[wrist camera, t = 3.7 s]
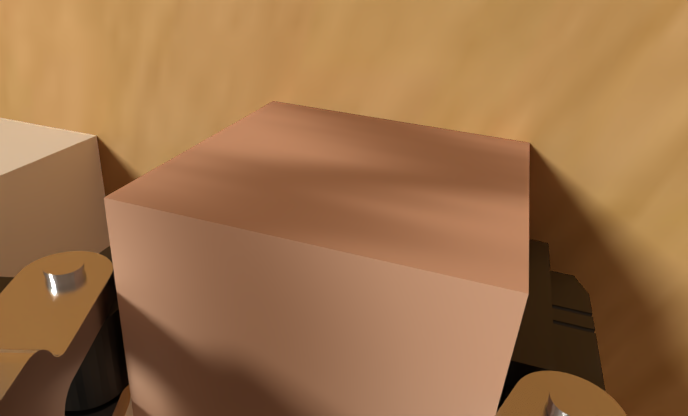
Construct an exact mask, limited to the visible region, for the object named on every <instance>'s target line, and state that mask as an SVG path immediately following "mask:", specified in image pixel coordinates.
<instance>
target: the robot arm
mask: <svg viewBox="0 0 688 416" xmlns="http://www.w3.org/2000/svg"><path fill="white" fill-rule="evenodd" d="M594 331H595V327H594V321H593V317H592V310H591V304H590V298H589V294H588V293H587V292H586V290H585V289H584V288H583V287H582V285H581V284H580V283H579V282H578V280H577V279H576V278H575V277H574V276H572V275H568V274H563V273H558V272H554V271H550V262H549V246H548V243H544V242H540V241H535V240H530V239H529V294H528V298H527V302H526V305H525V309H524V313H523V316H522V320H521V324H520V327H519V331H518V335H517V338H516V342H515V346H514V349H513V353H512V357H511V360H510V364H509V368H508V371H507V375H506V378H505V382H504V386H503V389H502V393H501V397H500V400H499V404H498V408H497V411H496V414H495V416H627V415H626V413H625V412H624V410H623V409H622V408H621V406H620V405H619V404H618V403H617V402H616V401H615V400H614V399H613V398H612V397H611V396H610V395H609V394H608V393H606V392H605V386H604V380H603V374H602V368H601V363H600V357H599V351H598V345H597V339H596V334H595V333H594ZM130 396H131V394H130V387H129V380H128V372H127V365H126V358H125V350H124V343H123V336H122V328H121V321H120V314H119V306H118V299H117V292H116V284H115V277H114V270H113V262H112V255H111V248H110V246H109V247H107V248H106V249H104V250H103V251H101V252H100V253H95V252H89V251H68V252H61V253H56V254H52V255H49V256H46V257H43V258H40V259H38V260H36V261H34V262H32V263H30V264H28V265H27V266H26V267H24V268H23V269H22V270H21V271H20V272H19V273H18V274H17V275H16V276H15V277H0V416H125V413H126V411H127V408H128V406H129V403H130Z"/></svg>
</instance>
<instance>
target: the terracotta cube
mask: <svg viewBox="0 0 688 416" xmlns="http://www.w3.org/2000/svg"><path fill="white" fill-rule="evenodd" d="M529 162H530V143H527V142H521V141H515V140H509V139H503V138H497V137H491V136H484V135H478V134H472V133H466V132H460V131H454V130H447V129H441V128H435V127H429V126H423V125H417V124H411V123H404V122H398V121H392V120H386V119H380V118H374V117H367V116H361V115H355V114H349V113H343V112H337V111H331V110H324V109H318V108H312V107H306V106H300V105H294V104H287V103H281V102H275V101H272V102H271V103H269V104H267V105H265V106H264V107H262V108H260V109H258V110H257V111H255V112H253V113H251V114H250V115H248V116H246V117H244V118H243V119H241V120H239V121H237V122H236V123H234V124H232V125H230V126H229V127H227V128H225V129H223V130H222V131H220V132H218V133H216V134H214V135H213V136H211V137H209V138H207V139H206V140H204V141H202V142H200V143H199V144H197V145H195V146H193V147H192V148H190V149H188V150H186V151H185V152H183V153H181V154H179V155H178V156H176V157H174V158H172V159H171V160H169V161H167V162H165V163H164V164H162V165H160V166H158V167H157V168H155V169H153V170H151V171H150V172H148V173H146V174H144V175H143V176H141V177H139V178H137V179H136V180H134V181H132V182H130V183H128V184H127V185H125V186H123V187H121V188H120V189H118V190H116V191H114V192H113V193H111V194H109V195H107V196H106V197H104V204H105V211H106V218H107V226H108V233H109V240H110V248H111V255H112V262H113V270H114V277H115V284H116V292H117V299H118V306H119V314H120V321H121V328H122V336H123V343H124V350H125V358H126V365H127V372H128V380H129V387H130V394H131V402H132V409H133V416H495V414H496V411H497V408H498V404H499V400H500V397H501V393H502V389H503V386H504V382H505V378H506V375H507V371H508V368H509V364H510V360H511V357H512V353H513V349H514V346H515V342H516V338H517V335H518V331H519V327H520V324H521V320H522V316H523V313H524V309H525V305H526V302H527V298H528V294H529Z"/></svg>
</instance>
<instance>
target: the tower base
mask: <svg viewBox="0 0 688 416" xmlns="http://www.w3.org/2000/svg"><path fill="white" fill-rule="evenodd" d="M104 197H105V191H104V184H103V177H102V170H101V163H100V156H99V149H98V142H97V135H91V134H86V133H80V132H75V131H69V130H64V129H59V128H53V127H48V126H42V125H37V124H31V123H26V122H21V121H15V120H10V119H4V118H0V277H15V276H16V275H17V274H18V273H19V272H20V271H21V270H22V269H23V268H24V267H26V266H27V265H28V264H30V263H32V262H34V261H36V260H38V259H40V258H43V257H46V256H49V255H52V254H56V253H61V252H68V251H89V252H95V253H100V252H101V251H103V250H104V249H106V248H107V247H109V246H110V240H109V233H108V226H107V218H106V211H105V204H104ZM125 416H133V409H132V402H131V396H130V403H129V406H128V408H127V411H126V413H125Z"/></svg>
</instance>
